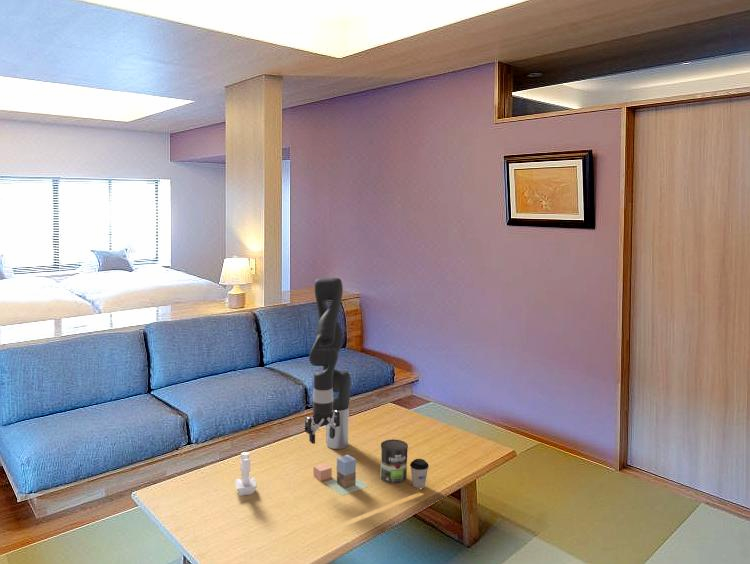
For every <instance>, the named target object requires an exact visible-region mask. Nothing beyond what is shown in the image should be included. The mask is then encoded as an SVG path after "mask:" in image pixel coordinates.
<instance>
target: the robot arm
mask: <svg viewBox="0 0 750 564" xmlns="http://www.w3.org/2000/svg"><path fill="white" fill-rule="evenodd" d="M343 291H344V289H343V282H342V279H341V278H339V277H323V278H322V277H320V278H317V279H315V281H314V296H315V301H316V302H315V303H316V306H317V308H316V309H317V313H318V320H319V321H318V322H317V326H316V327H317V328H316V336H315V339H314V343H313V345H312V346H311V349H310V351H309V356H308V360H309V362H310V364H311V365H312V366H315V367H322V369H323V370H319V371H316V372H315V373H314V375H313V392H312V416H306V417H305V419H304V420H305V421H304V432H305V433H306V434H308V436H309V437H308V440H309V442H310V443H311V444H312V445H313V444H315V443H316V432H317V431H318V430H319V429H320V427H321V428H322V427H323V426H325V443H326V447H328V448H329V449H332V450H333V449H334V450H341V449H346V448H347V447H348V445H349V420H350V419H349V414H350V413H349V411H350V410H349V409H350V407H349V406H350V399H351V385H352V383H351V382H352V377H351V375H350V373H349V372H348V371H345V370H344V371H343V370H338V369H337V370H336V369H335V368H336V366H337V362H338V359H339V353H340V351H341V350H342V347H343V345H344V339H343V328H342V326H341V324H340V323H339V322H338V315H339V312H340V308H341V303H342V300H343V299H342V298H343ZM327 301H329V302H330V301H331V304H330V305H329V307H328V306H327V303H326V302H327ZM334 393H338V396H335V397H334Z"/></svg>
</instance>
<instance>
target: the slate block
mask: <svg viewBox="0 0 750 564" xmlns="http://www.w3.org/2000/svg"><path fill="white" fill-rule="evenodd" d="M356 466H357V459H356V458H354V457H353V456H351V455H349V454H345V455H342V456H339V457H337V458H336V472H337V471H338V472H340V473H341V474H343V475H344V476H346V475H349V474H351V473H354V472H356V473H357V468H356Z"/></svg>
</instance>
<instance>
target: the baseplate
mask: <svg viewBox="0 0 750 564" xmlns="http://www.w3.org/2000/svg"><path fill="white" fill-rule="evenodd" d="M323 483H324V484H325V485H327V486H328V487H329V488H331V489H333V490H334V491H335V492H336V493H338V494H339V495H340V496H346V495H348V494H351V493H353V492H356V491H359V490H362V489H364V488H366V487H367V488H368V487H369V485H368V484H367V483H366V482H364V481H362V480H360V479H359V478H358V477H356V485H354V486H351V487H348V488H345V489H344V488H343V487H341V486H340V485H339V484H337V477H335V478H333V479H329V480H327V481H324V482H323Z"/></svg>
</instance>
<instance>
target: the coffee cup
mask: <svg viewBox="0 0 750 564" xmlns="http://www.w3.org/2000/svg"><path fill="white" fill-rule="evenodd" d="M409 466H410V473H411V474H410V475H411V483H412V486H413V487H415V488H417V489H419V490H421V489H420V488H424V487H425V488H426V482H427V478H428V469H429V463H428V462H427V461H426V460H425V459H422V458H415V459H413V460H412V461H411V462H410V464H409ZM425 488H424V489H425Z"/></svg>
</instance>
